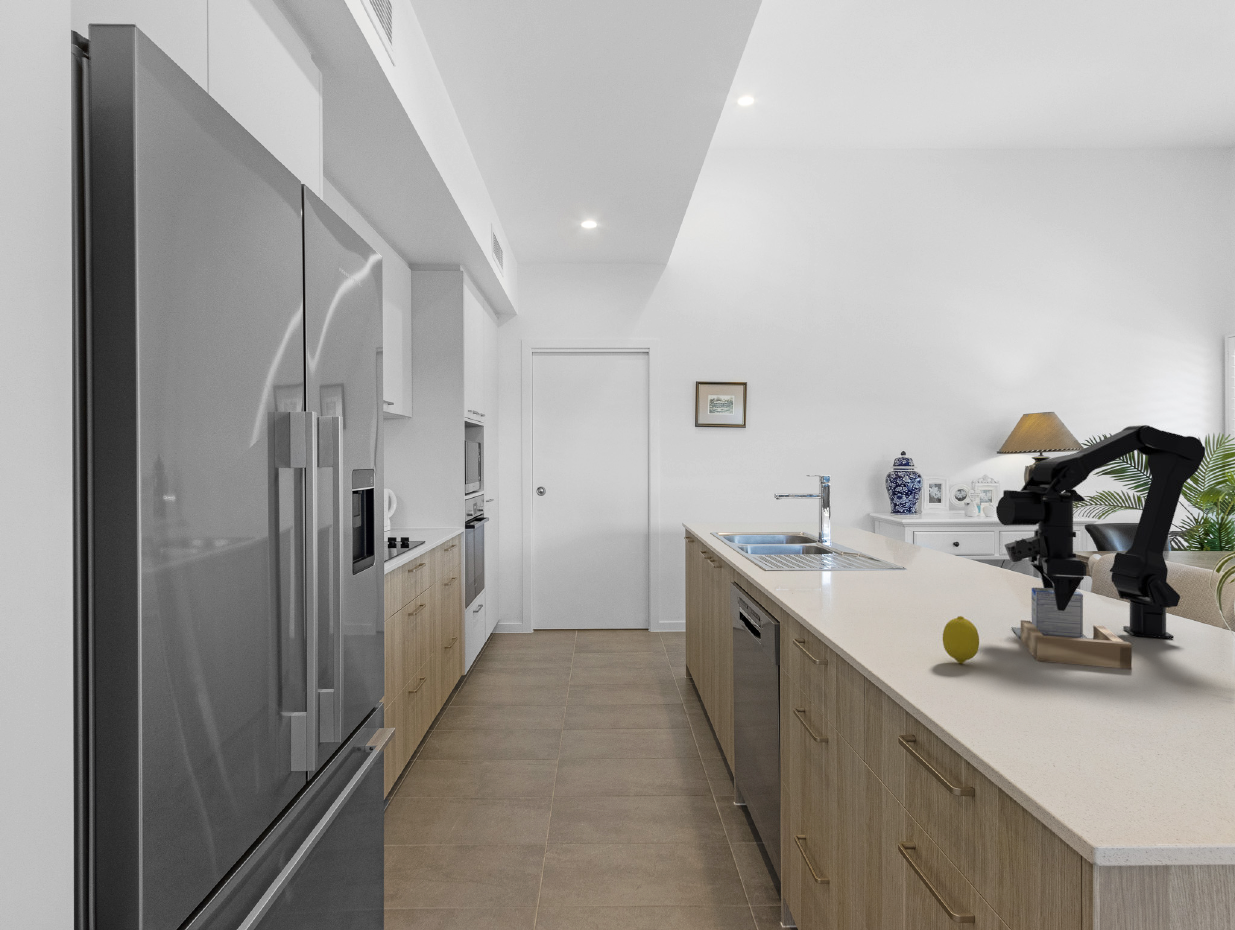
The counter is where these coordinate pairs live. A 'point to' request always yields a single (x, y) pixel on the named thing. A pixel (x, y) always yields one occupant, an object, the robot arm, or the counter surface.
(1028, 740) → the counter surface
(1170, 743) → the counter surface
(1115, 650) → the dispenser rack
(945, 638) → the lemon
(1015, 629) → the mat
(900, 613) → the counter surface
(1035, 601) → the medicine box
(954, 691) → the counter surface
